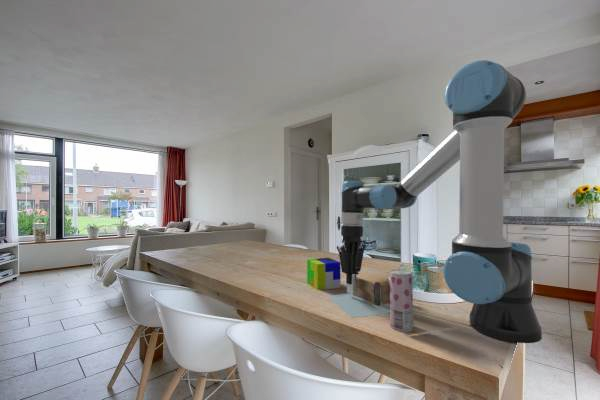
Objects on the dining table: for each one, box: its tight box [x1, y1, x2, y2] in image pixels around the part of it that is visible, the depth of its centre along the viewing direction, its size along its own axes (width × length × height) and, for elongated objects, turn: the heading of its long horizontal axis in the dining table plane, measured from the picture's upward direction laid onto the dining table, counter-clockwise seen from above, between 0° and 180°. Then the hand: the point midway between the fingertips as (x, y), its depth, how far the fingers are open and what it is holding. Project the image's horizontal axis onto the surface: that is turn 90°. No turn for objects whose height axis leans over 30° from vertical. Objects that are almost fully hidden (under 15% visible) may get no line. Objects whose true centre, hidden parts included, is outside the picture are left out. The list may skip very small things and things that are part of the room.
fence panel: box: [354, 276, 381, 306], centre depth 95 cm, size 13×2×7 cm, turn 29°
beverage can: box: [389, 268, 414, 333], centre depth 74 cm, size 6×6×15 cm
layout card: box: [327, 292, 418, 319], centre depth 92 cm, size 20×22×1 cm
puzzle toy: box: [306, 257, 342, 291], centre depth 113 cm, size 10×10×10 cm
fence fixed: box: [380, 282, 390, 304], centre depth 91 cm, size 8×2×7 cm, turn 105°
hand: (350, 292), depth 97 cm, fingers closed
